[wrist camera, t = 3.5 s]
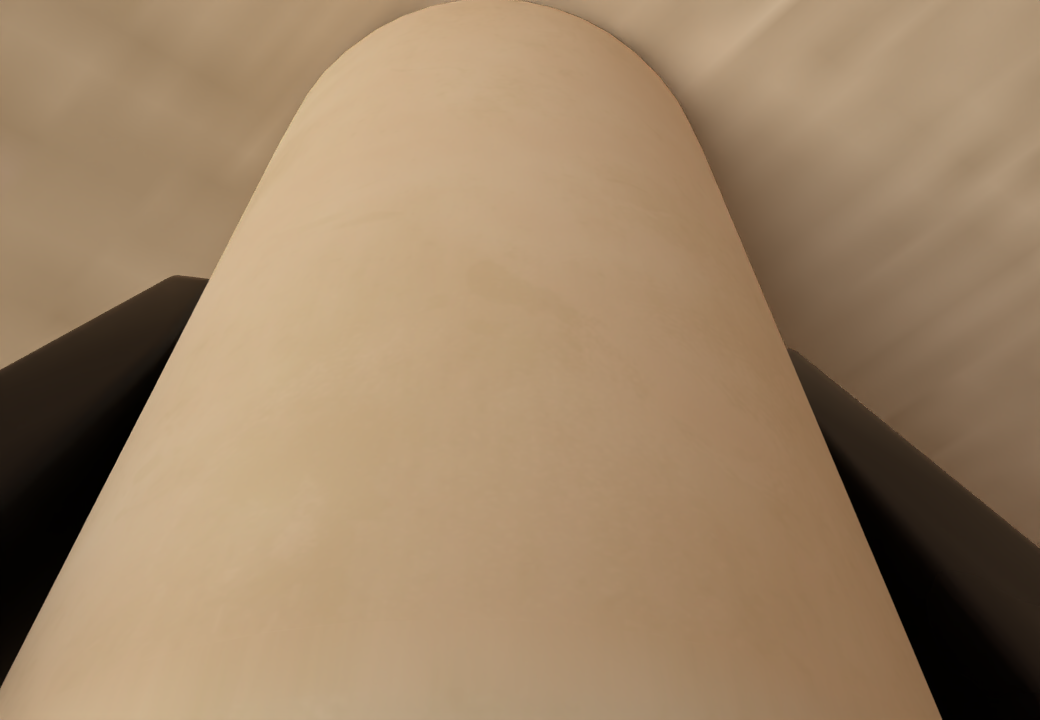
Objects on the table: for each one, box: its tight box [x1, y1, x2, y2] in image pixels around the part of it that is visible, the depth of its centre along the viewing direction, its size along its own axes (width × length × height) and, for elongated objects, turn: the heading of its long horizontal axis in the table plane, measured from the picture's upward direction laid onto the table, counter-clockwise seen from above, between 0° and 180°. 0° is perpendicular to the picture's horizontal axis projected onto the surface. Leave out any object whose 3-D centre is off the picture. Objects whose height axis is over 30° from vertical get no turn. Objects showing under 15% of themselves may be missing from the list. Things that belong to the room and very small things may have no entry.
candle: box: [0, 0, 942, 720], centre depth 7 cm, size 6×6×10 cm
